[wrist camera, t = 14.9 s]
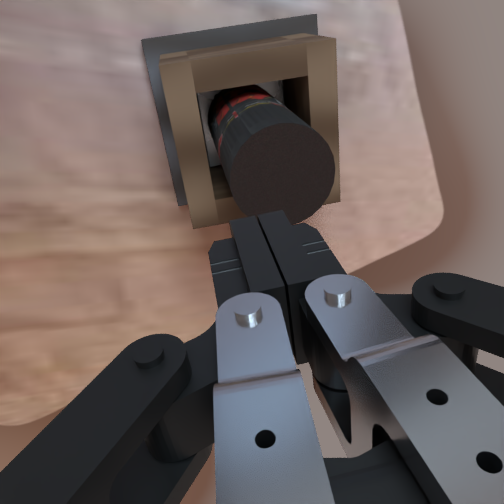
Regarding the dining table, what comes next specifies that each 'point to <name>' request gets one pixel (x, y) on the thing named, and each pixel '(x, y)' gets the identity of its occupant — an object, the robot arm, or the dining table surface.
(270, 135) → the deodorant
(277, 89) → the press platform
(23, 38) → the dining table surface
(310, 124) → the sleeve holder
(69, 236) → the dining table surface
